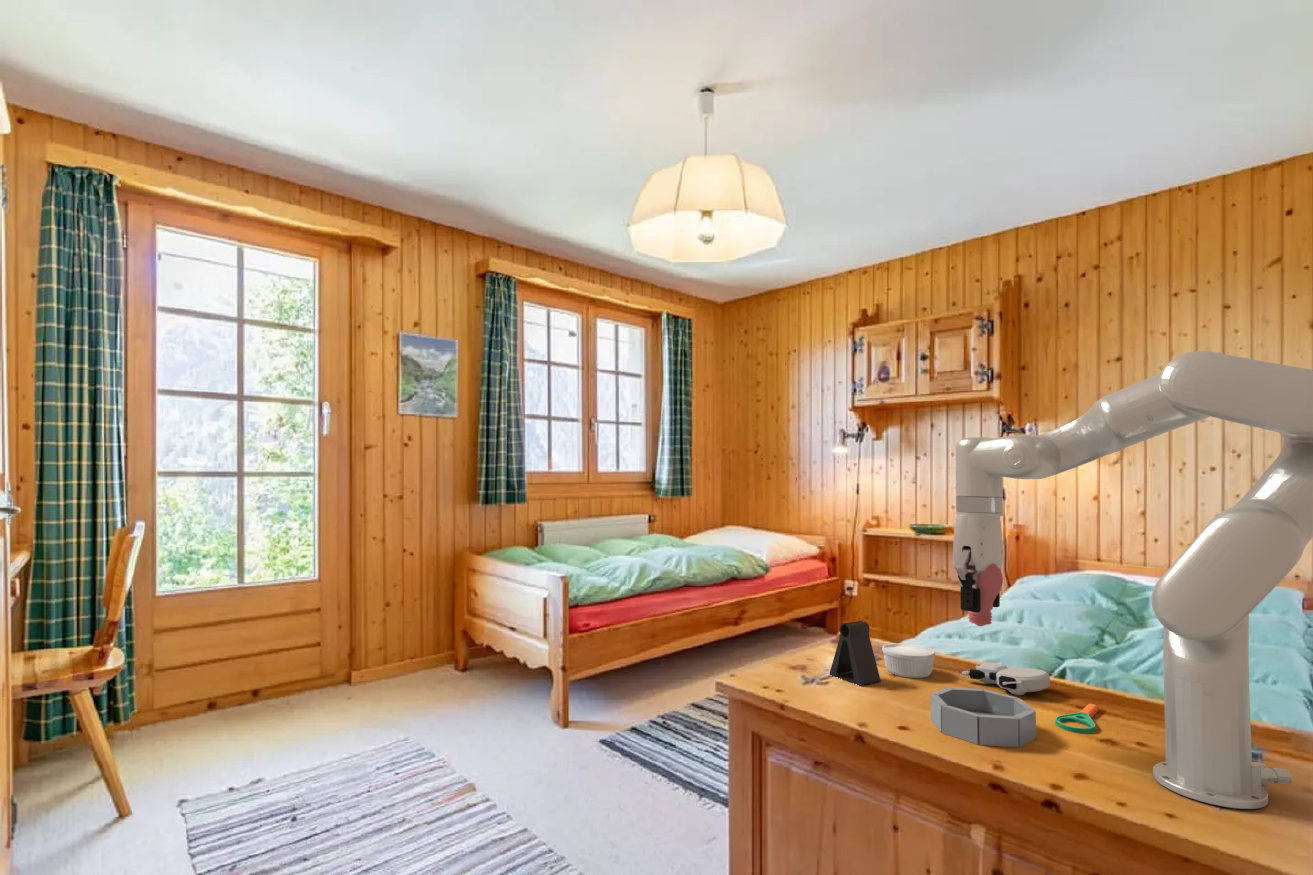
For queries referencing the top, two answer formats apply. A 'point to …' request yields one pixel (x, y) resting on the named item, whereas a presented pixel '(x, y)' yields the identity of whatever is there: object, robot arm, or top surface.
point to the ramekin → (908, 660)
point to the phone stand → (855, 655)
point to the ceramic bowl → (983, 717)
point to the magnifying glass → (1079, 720)
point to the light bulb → (986, 594)
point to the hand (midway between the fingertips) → (980, 607)
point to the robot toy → (1011, 677)
